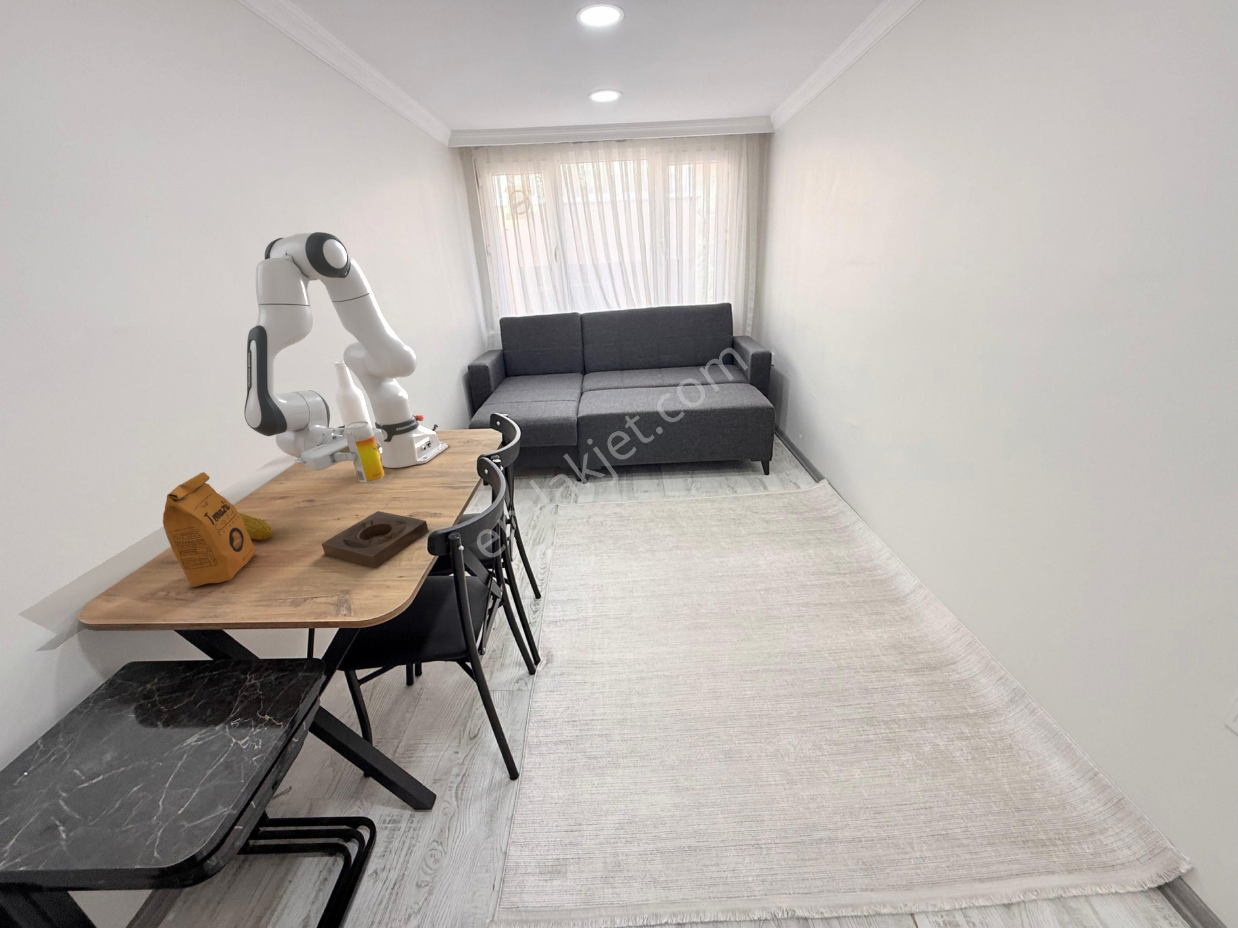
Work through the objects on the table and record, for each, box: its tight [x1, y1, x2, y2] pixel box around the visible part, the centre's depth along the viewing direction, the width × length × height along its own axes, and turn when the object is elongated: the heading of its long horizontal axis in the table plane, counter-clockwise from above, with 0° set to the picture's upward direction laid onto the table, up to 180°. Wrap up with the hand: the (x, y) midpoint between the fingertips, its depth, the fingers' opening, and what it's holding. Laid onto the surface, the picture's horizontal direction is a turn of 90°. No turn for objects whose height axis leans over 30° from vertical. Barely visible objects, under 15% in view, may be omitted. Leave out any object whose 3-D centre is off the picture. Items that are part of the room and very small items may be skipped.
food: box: [239, 512, 273, 541], centre depth 122 cm, size 21×6×6 cm, turn 69°
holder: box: [321, 510, 429, 569], centre depth 116 cm, size 16×16×3 cm
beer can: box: [344, 421, 385, 485], centre depth 124 cm, size 6×6×15 cm
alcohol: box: [333, 360, 373, 428], centre depth 177 cm, size 9×9×30 cm
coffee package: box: [162, 471, 256, 588], centre depth 104 cm, size 10×12×22 cm
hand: (366, 451), depth 123 cm, fingers closed on beer can, 6 cm apart
